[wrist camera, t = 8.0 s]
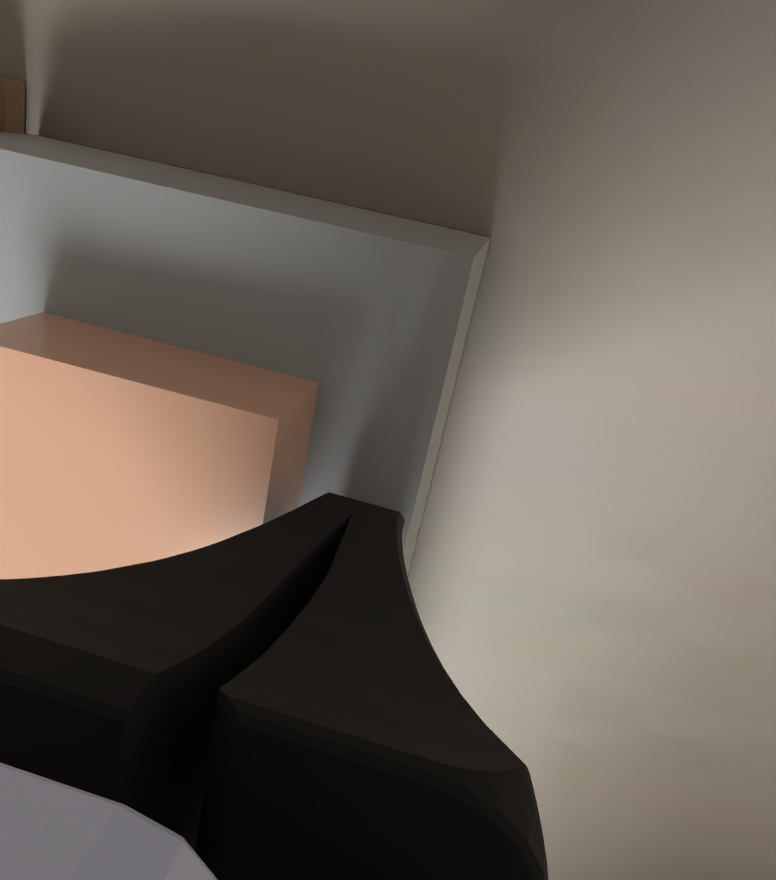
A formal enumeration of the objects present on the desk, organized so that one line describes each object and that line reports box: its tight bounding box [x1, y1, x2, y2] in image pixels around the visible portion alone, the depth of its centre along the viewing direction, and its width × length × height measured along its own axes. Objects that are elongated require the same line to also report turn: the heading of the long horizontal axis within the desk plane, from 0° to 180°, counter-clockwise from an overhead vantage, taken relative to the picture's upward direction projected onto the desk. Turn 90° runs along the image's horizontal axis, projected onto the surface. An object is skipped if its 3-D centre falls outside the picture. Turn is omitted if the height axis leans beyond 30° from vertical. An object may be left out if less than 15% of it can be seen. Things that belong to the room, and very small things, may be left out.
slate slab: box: [0, 132, 491, 577], centre depth 16 cm, size 16×10×4 cm, turn 169°
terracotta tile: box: [0, 312, 319, 579], centre depth 12 cm, size 5×5×2 cm
